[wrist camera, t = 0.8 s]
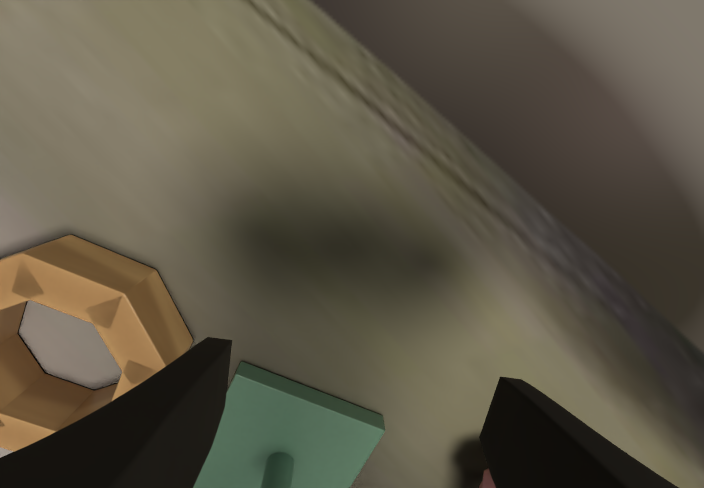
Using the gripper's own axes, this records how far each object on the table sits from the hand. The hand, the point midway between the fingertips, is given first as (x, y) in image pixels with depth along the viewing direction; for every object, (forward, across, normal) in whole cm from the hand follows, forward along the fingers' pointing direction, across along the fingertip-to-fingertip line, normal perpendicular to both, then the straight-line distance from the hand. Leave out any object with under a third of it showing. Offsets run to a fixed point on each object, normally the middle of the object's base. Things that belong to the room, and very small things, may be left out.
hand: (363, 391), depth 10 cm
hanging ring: (+10, +13, +6) cm, 18 cm away
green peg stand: (+10, +2, +12) cm, 16 cm away
